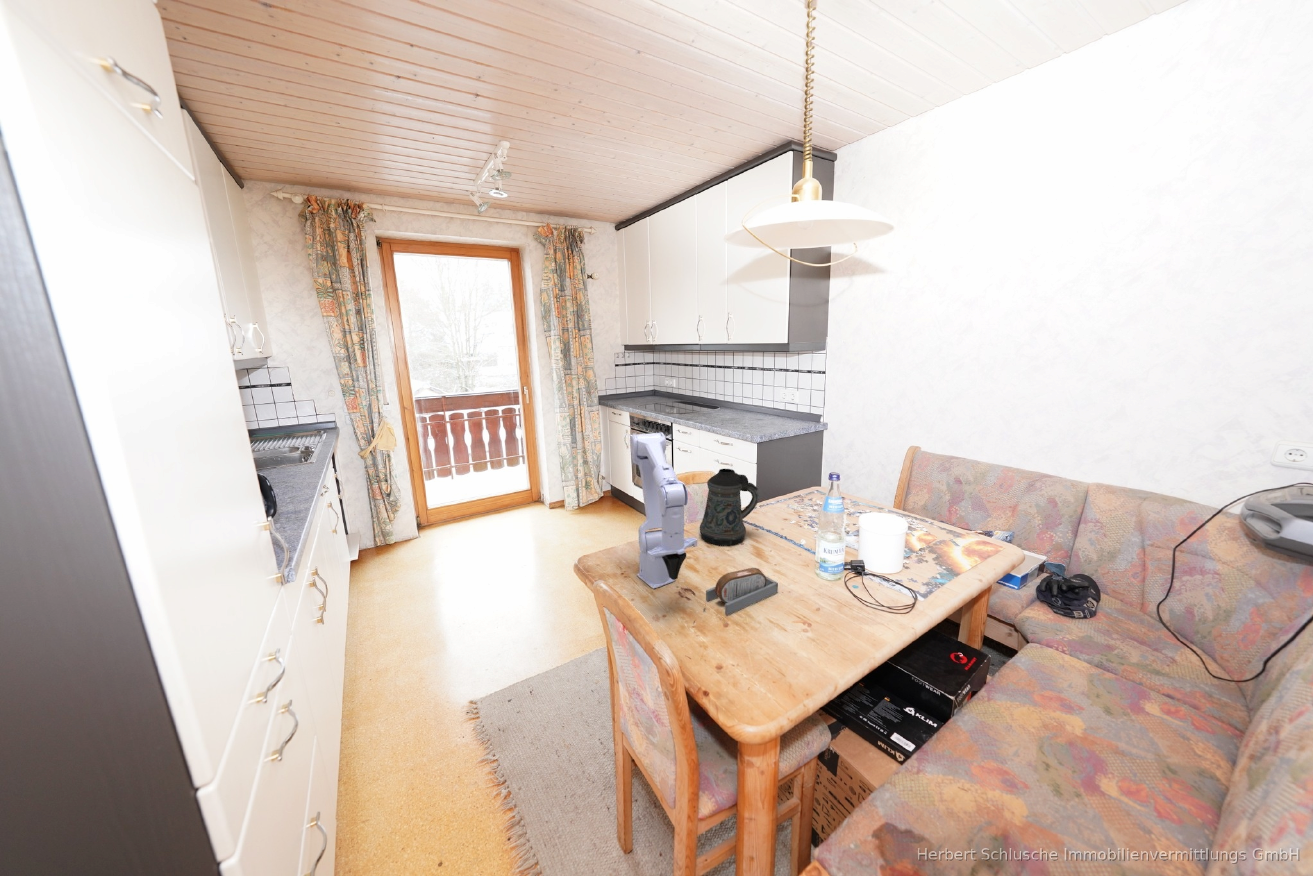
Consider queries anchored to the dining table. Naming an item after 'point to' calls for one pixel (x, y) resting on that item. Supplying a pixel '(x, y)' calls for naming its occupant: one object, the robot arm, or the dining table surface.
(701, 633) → the dining table surface
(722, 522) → the beer stein
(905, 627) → the dining table surface
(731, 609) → the pocket
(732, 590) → the tin
